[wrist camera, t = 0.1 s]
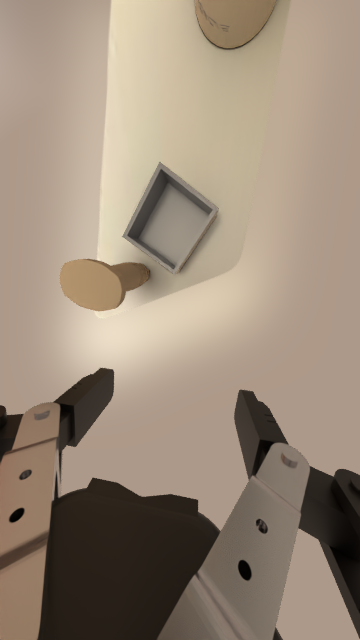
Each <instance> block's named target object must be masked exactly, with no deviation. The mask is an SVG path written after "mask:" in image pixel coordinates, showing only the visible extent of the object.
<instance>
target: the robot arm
mask: <svg viewBox="0 0 360 640" xmlns="http://www.w3.org/2000/svg"><path fill="white" fill-rule="evenodd" d="M275 3H276V0H195V8H196V15H197V18H198V21H199V25H200V27H201V29H202V31H203V33H204V34H205V36H206V37H207V38H208V39H209V40H210V41H211V42H212V43H214V44H215V45H217V46H220V47H223V48H235V47H238V46H241V45H243V44H245V43H246V42H248V41H250V40H251V39H252V38H253V37H254V36H255V35H256V34H257V33H258V32H259V31H260V30H261V28H262V27H263V26H264V25H265V23H266V22H267V20H268V18H269V16H270V14H271V12H272V10H273V8H274V5H275ZM113 390H114V371H113V370H112V369H106V368H100V369H99V370H98V371H96V373H94V374H90V375H88V376H86V377H84V378H82V379H81V380H80V381H78V382H77V384H75V385H74V386H72V388H70V389H69V390H68V391H66V392H65V393H64V394H63V395H61V396H60V397H59V398H58V399H56V400H55V401H54V402H50V403H49V402H48V403H42V404H39V405H37V406H34V407H32V408H31V409H29V410H28V411H26V412H25V414H17V415H7V414H6V408H5V407H4V406H1V405H0V640H283V639H282V638H281V636H280V634H279V632H278V630H277V629H276V622H277V618H278V613H279V609H280V605H281V600H282V596H283V592H284V587H285V583H286V579H287V574H288V570H289V566H290V561H291V557H292V552H293V547H294V544H295V539H296V535H297V531H298V528H299V529H301V530H303V531H305V532H306V533H308V534H310V535H312V536H313V537H315V538H317V539H318V540H319V542H320V544H321V547H322V549H323V552H324V554H325V556H326V559H327V561H328V564H329V566H330V568H331V571H332V573H333V576H334V578H335V580H336V583H337V585H338V588H339V590H340V592H341V595H342V597H343V599H344V602H345V605H346V607H347V609H348V612H349V614H350V617H351V619H352V621H353V624H354V626H355V629H356V631H357V633H358V636H359V638H360V475H358V474H356V473H354V472H352V471H349V470H346V469H339V470H337V471H336V472H335V475H334V477H333V476H331V475H328V474H326V473H324V472H322V471H319V470H317V469H315V468H313V467H311V466H309V463H308V462H307V460H306V459H305V458H304V456H303V455H302V454H301V453H300V452H299V451H298V450H296V449H295V448H293V447H291V446H289V444H288V442H287V441H286V439H285V437H284V435H283V433H282V431H281V429H280V428H279V426H278V424H277V423H276V420H275V418H274V417H273V415H272V413H271V411H270V409H269V408H268V407H267V406H266V405H265V404H264V403H263V402H260V401H258V400H257V398H256V396H255V394H254V392H253V391H246V390H239V393H238V398H237V403H236V408H235V415H234V419H235V425H236V429H237V433H238V438H239V441H240V446H241V450H242V454H243V458H244V462H245V466H246V471H247V474H248V479H249V482H248V483H247V485H246V487H245V489H244V491H243V492H242V494H241V496H240V498H239V500H238V502H237V503H236V505H235V507H234V509H233V511H232V512H231V514H230V516H229V518H228V519H227V521H226V523H225V525H224V527H223V529H222V530H221V531H220V530H219V529H218V528H217V527H216V526H215V525H214V524H213V523H212V522H211V521H210V520H209V519H208V518H206V517H205V516H204V515H203V514H201V513H199V512H198V500H196V499H191V498H187V497H182V496H177V495H172V494H168V495H159V496H148V497H141V496H139V495H137V494H135V493H134V492H132V491H130V490H128V489H127V488H125V487H124V486H122V485H120V484H119V483H116V482H111V481H106V480H102V479H97V478H92V480H91V482H90V483H89V485H88V487H87V488H84V489H79V490H76V491H73V492H70V493H67V494H65V495H63V496H61V481H62V455H63V454H62V450H63V449H64V448H65V447H66V445H68V446H73V447H76V446H77V444H78V443H79V442H80V440H81V439H82V438H83V436H84V435H85V434H86V432H87V431H88V430H89V428H90V427H91V426H92V425H93V423H94V422H95V421H96V419H97V418H98V417H99V415H100V414H101V412H102V411H103V410H104V409H105V407H106V406H107V405H108V403H109V402H110V400H111V398H112V396H113Z"/></svg>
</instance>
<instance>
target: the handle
mask: <svg viewBox="0 0 360 640" xmlns="http://www.w3.org/2000/svg"><path fill="white" fill-rule="evenodd" d="M148 274H149V270H148V269H146V268H145V266H144V265H143V264H141V263H130V262H129V263H121V264H117V265H113V266H110V265H108V264H106V263H104V262H101V261H97V260H92V259H80V260H74V261H70V262H67V263H65V264H64V265H63V267H62V269H61V273H60V284H61V288H62V290H63V292H64V294H65V296H67V297H68V298H69V299H70V300H72V301H73V302H74V303H76V304H78V305H79V306H81V307H84V308H87V309H91V310H95V311H105V310H111V309H115V308H117V307H118V306H119V305H120V304H121V303H122V302H123V300H124V298H125V294H126V291H129V290H133V289H135V288H137V287H139V286H141V285H142V284H143V283H144V282H145V281H147V280H148Z"/></svg>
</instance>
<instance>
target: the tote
mask: <svg viewBox="0 0 360 640" xmlns="http://www.w3.org/2000/svg"><path fill="white" fill-rule="evenodd" d="M218 209H219V208H218V207H216V206H215V205H214V204H213V203H211V202H210V201H209V200H207V199H206V198H205V197H204V196H202V195H201V194H200V193H199V192H197V191H196V190H195V189H194V188H192V187H191V186H190V185H189V184H187V183H186V182H185V181H183V180H182V179H181V178H180V177H178V176H177V175H176V174H175V173H173V172H172V171H171V170H170V169H168V168H167V167H166V166H165V165H163V164H162V163H161V162H159V164H158V166H157V168H156V170H155V172H154V174H153V176H152V178H151V180H150V182H149V184H148V186H147V188H146V190H145V192H144V194H143V196H142V198H141V200H140V202H139V204H138V206H137V208H136V210H135V212H134V214H133V216H132V218H131V220H130V222H129V224H128V226H127V228H126V230H125V232H124V234H123V236H122V237H124V238H125V239H126V240H128V241H129V242H131V243H132V244H133V245H135V246H136V247H137V248H139V249H140V250H142V251H143V252H144V253H146V254H147V255H148V256H150V257H151V258H153V259H154V260H155V261H157V262H158V263H159V264H161V265H162V266H163V267H165V268H166V269H168V270H169V271H170V272H172V273H173V274H174V275H175V274H176V273H178V272H179V271H180V270H181V269H182V267H183V266H184V264H185V263H186V261H187V260H188V258H189V257H190V255H191V254H192V252H193V251H194V249H195V248H196V246H197V245H198V243H199V242H200V240H201V239H202V237H203V236H204V234H205V233H206V231H207V230H208V228H209V227H210V225H211V224H212V222H213V221H214V219H215V218H216V216H217V212H218Z"/></svg>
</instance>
